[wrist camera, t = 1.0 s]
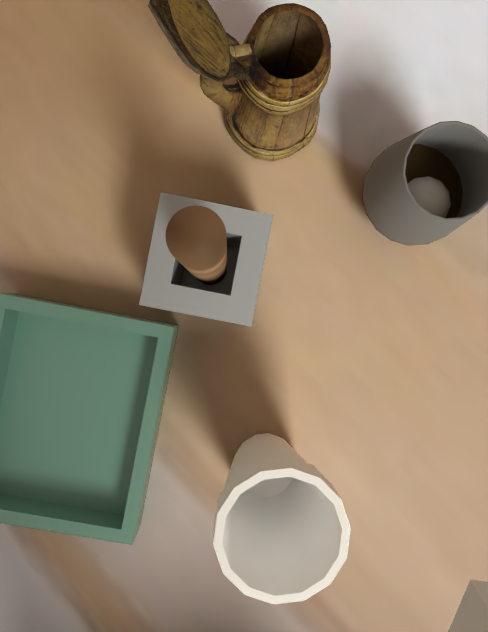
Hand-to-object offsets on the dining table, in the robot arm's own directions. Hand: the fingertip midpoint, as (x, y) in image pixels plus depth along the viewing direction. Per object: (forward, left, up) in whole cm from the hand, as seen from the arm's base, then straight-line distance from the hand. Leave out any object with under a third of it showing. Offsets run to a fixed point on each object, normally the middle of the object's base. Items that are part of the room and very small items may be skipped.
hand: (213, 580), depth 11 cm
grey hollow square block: (+10, +3, -31) cm, 32 cm away
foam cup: (-8, -6, -31) cm, 32 cm away
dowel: (+10, +3, -30) cm, 31 cm away
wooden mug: (+25, +2, -31) cm, 40 cm away
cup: (+20, -14, -31) cm, 39 cm away
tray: (-6, +13, -31) cm, 34 cm away
